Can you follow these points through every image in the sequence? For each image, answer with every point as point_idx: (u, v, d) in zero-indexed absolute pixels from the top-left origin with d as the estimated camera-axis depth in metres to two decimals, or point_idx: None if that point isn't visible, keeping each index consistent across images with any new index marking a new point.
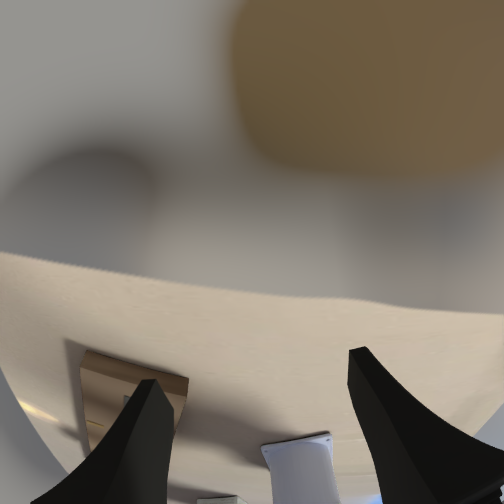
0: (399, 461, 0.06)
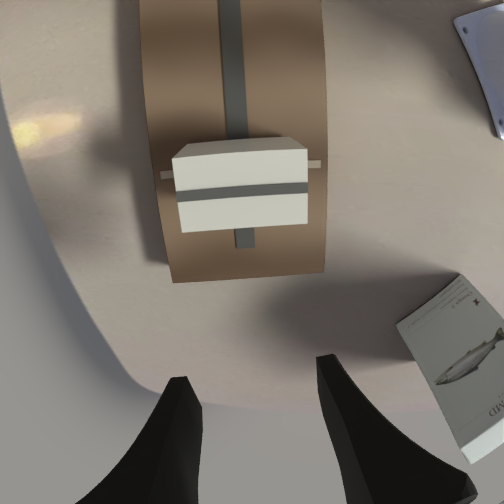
0: (355, 474, 0.06)
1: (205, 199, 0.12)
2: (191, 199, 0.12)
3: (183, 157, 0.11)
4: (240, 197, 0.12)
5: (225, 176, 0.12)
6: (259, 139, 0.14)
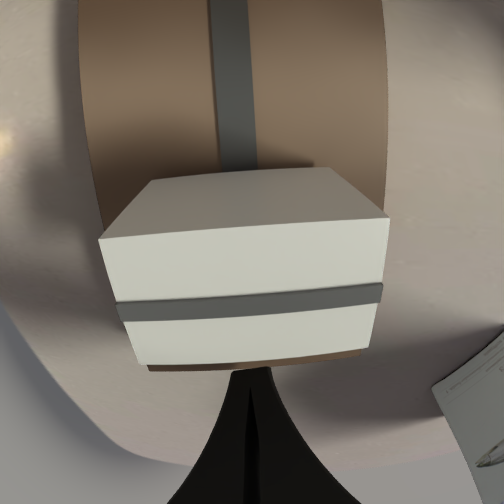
0: None
1: (175, 317, 0.06)
2: (148, 316, 0.06)
3: (121, 236, 0.05)
4: (246, 315, 0.06)
5: (213, 276, 0.05)
6: (278, 174, 0.08)
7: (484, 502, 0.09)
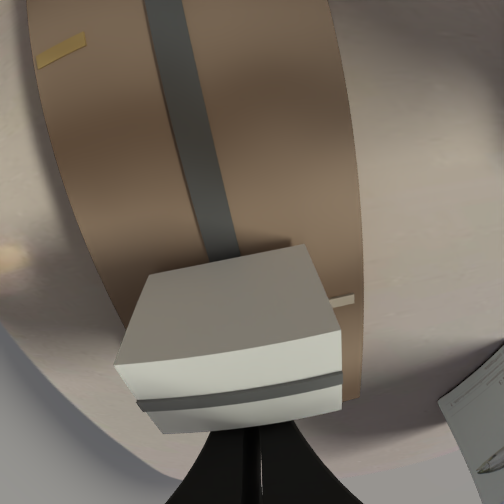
0: None
1: (182, 406, 0.07)
2: (162, 407, 0.07)
3: (130, 362, 0.06)
4: (235, 402, 0.07)
5: (204, 383, 0.07)
6: (256, 263, 0.09)
7: None
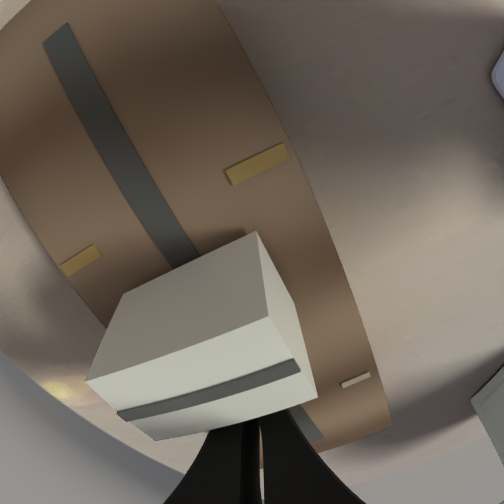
0: None
1: (157, 412, 0.07)
2: (141, 415, 0.07)
3: (96, 376, 0.07)
4: (200, 402, 0.07)
5: (162, 387, 0.07)
6: (208, 262, 0.09)
7: None
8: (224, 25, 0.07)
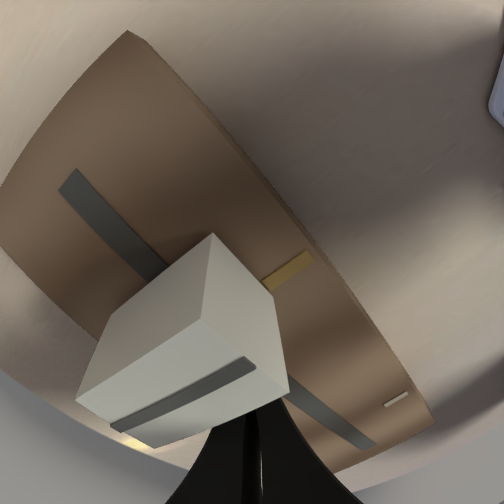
0: None
1: (143, 421, 0.07)
2: (131, 425, 0.08)
3: (82, 394, 0.07)
4: (175, 408, 0.07)
5: (136, 397, 0.07)
6: (172, 271, 0.09)
7: None
8: (232, 153, 0.09)
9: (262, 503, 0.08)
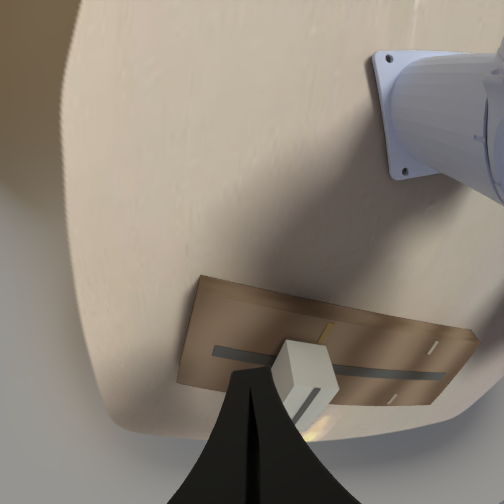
0: None
1: (295, 422, 0.19)
2: None
3: None
4: (304, 411, 0.19)
5: None
6: (279, 361, 0.21)
7: None
8: (275, 311, 0.20)
9: None
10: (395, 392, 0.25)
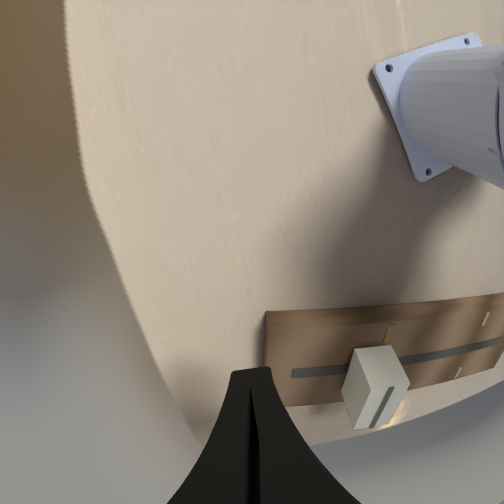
0: None
1: (377, 418, 0.20)
2: (375, 422, 0.20)
3: (354, 426, 0.20)
4: (383, 408, 0.19)
5: (370, 414, 0.19)
6: (352, 369, 0.22)
7: None
8: (340, 327, 0.21)
9: None
10: (460, 365, 0.25)
